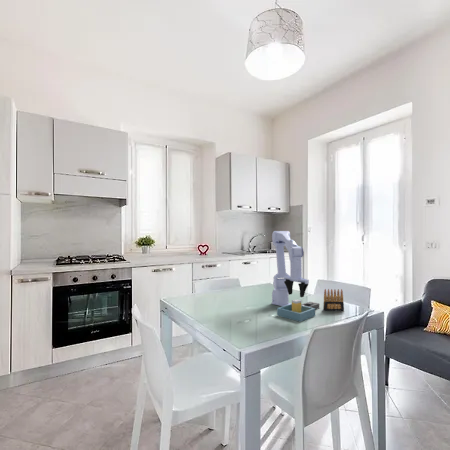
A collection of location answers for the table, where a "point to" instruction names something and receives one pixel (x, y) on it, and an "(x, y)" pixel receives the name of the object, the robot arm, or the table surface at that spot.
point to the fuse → (296, 306)
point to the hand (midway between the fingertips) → (296, 295)
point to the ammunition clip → (333, 301)
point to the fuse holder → (311, 305)
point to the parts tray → (288, 313)
